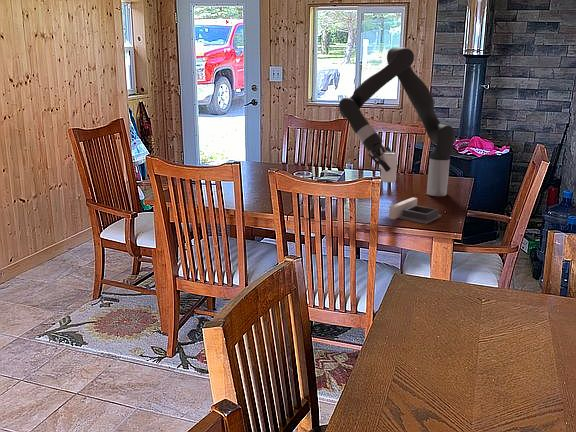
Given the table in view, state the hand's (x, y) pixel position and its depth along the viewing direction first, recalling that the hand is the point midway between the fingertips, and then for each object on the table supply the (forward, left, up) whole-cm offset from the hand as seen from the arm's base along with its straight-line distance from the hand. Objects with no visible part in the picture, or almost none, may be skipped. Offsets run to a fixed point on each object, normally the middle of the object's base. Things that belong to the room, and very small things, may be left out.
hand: (392, 169), depth 239 cm
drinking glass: (+17, -24, -18) cm, 34 cm away
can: (0, -2, -6) cm, 6 cm away
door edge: (0, +6, -18) cm, 19 cm away
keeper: (0, +14, -18) cm, 23 cm away
